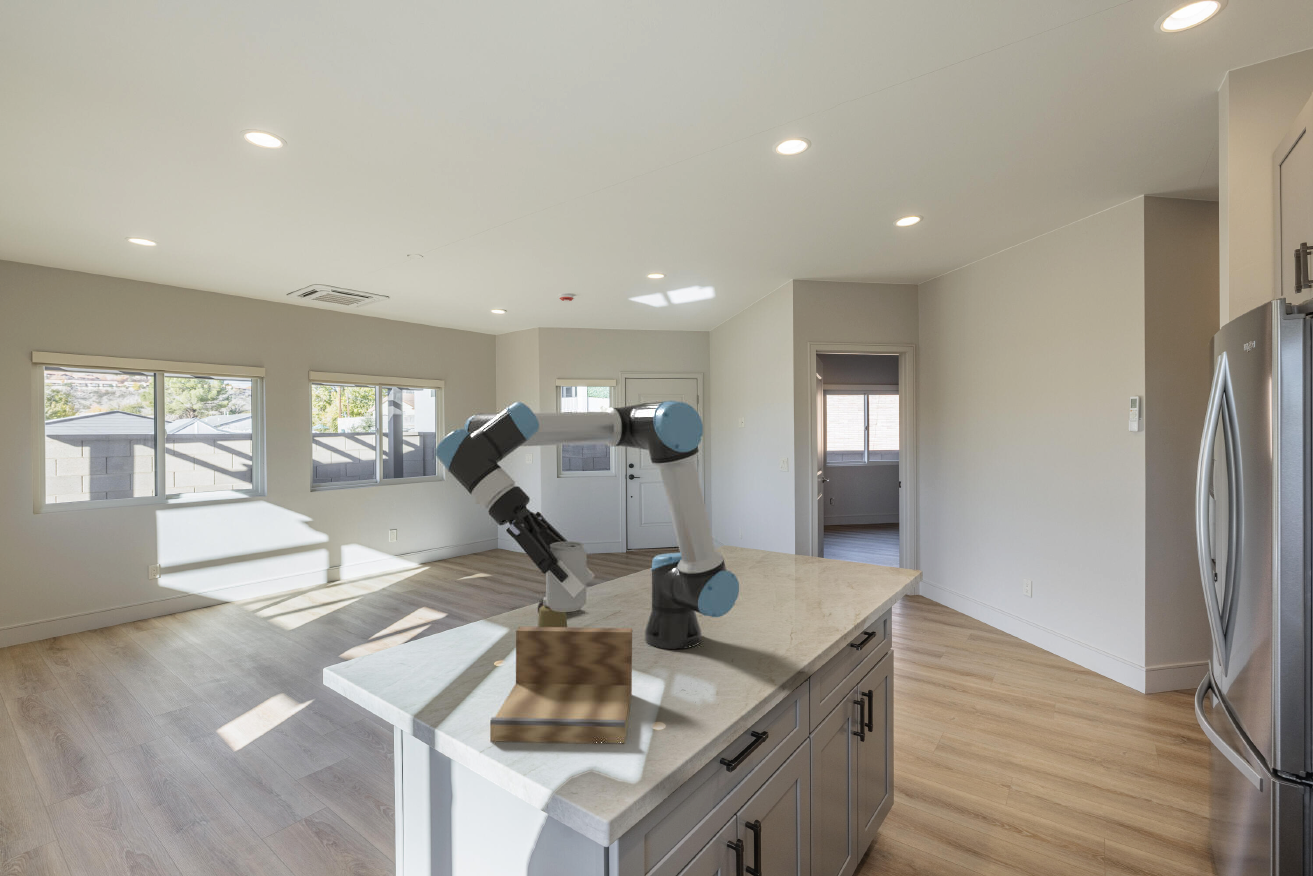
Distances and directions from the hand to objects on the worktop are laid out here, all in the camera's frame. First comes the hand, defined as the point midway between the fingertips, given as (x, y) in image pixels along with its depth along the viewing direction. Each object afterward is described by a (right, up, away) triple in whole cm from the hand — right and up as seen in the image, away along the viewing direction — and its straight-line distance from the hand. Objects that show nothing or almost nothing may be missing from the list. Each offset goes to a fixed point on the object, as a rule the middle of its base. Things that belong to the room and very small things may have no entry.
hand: (584, 586), depth 110 cm
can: (-3, -4, 0) cm, 6 cm away
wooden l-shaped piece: (-4, -26, +5) cm, 27 cm away
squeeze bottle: (-12, -27, +36) cm, 46 cm away
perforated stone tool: (-18, -26, +71) cm, 78 cm away
